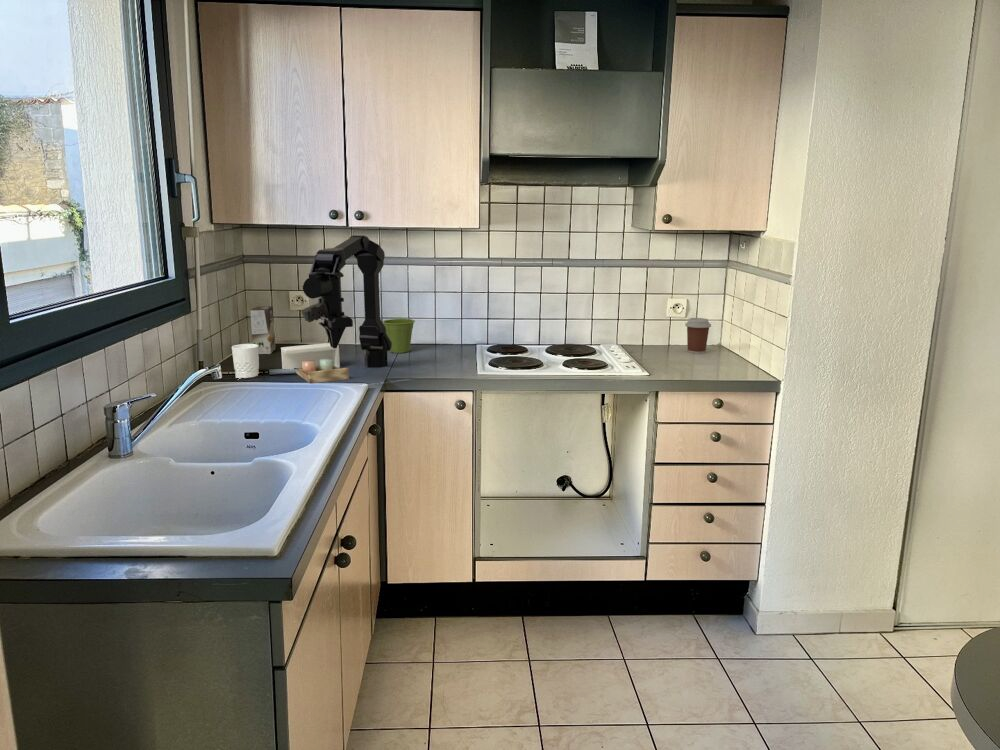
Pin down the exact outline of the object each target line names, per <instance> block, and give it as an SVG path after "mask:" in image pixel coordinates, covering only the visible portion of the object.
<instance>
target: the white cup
mask: <svg viewBox="0 0 1000 750" xmlns="http://www.w3.org/2000/svg"><path fill="white" fill-rule="evenodd" d="M231 353H232V359H233V360H232V361H233V369H234V374H235V379H236V378H239V379H242V378H243V379H247V378H255V377H257V376H259V375H258V374H259V369H260V357H259V355H260V354H259V347H258V345H257V344H253V343H240V344H239V343H238V344H234V345H232V346H231ZM239 379H238V380H239Z"/></svg>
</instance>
